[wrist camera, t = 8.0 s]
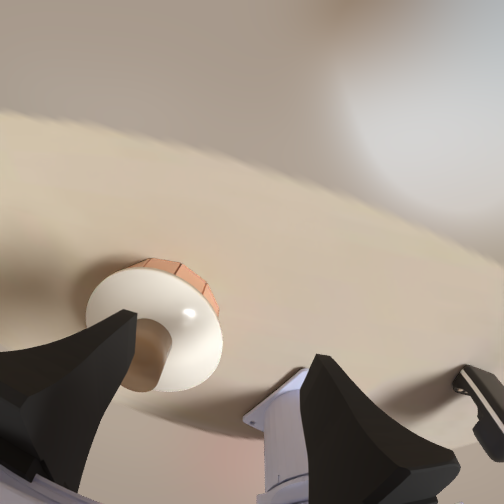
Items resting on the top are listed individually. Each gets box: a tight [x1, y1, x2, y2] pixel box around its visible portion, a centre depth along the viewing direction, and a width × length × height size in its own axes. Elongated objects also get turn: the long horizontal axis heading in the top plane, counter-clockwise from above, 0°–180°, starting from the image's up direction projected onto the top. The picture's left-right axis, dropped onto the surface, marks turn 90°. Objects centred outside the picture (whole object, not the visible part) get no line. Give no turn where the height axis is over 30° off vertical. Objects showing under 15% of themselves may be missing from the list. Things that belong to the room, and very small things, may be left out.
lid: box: [86, 267, 223, 392], centre depth 17 cm, size 9×9×4 cm
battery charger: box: [452, 365, 504, 462], centre depth 19 cm, size 7×4×11 cm, turn 65°
